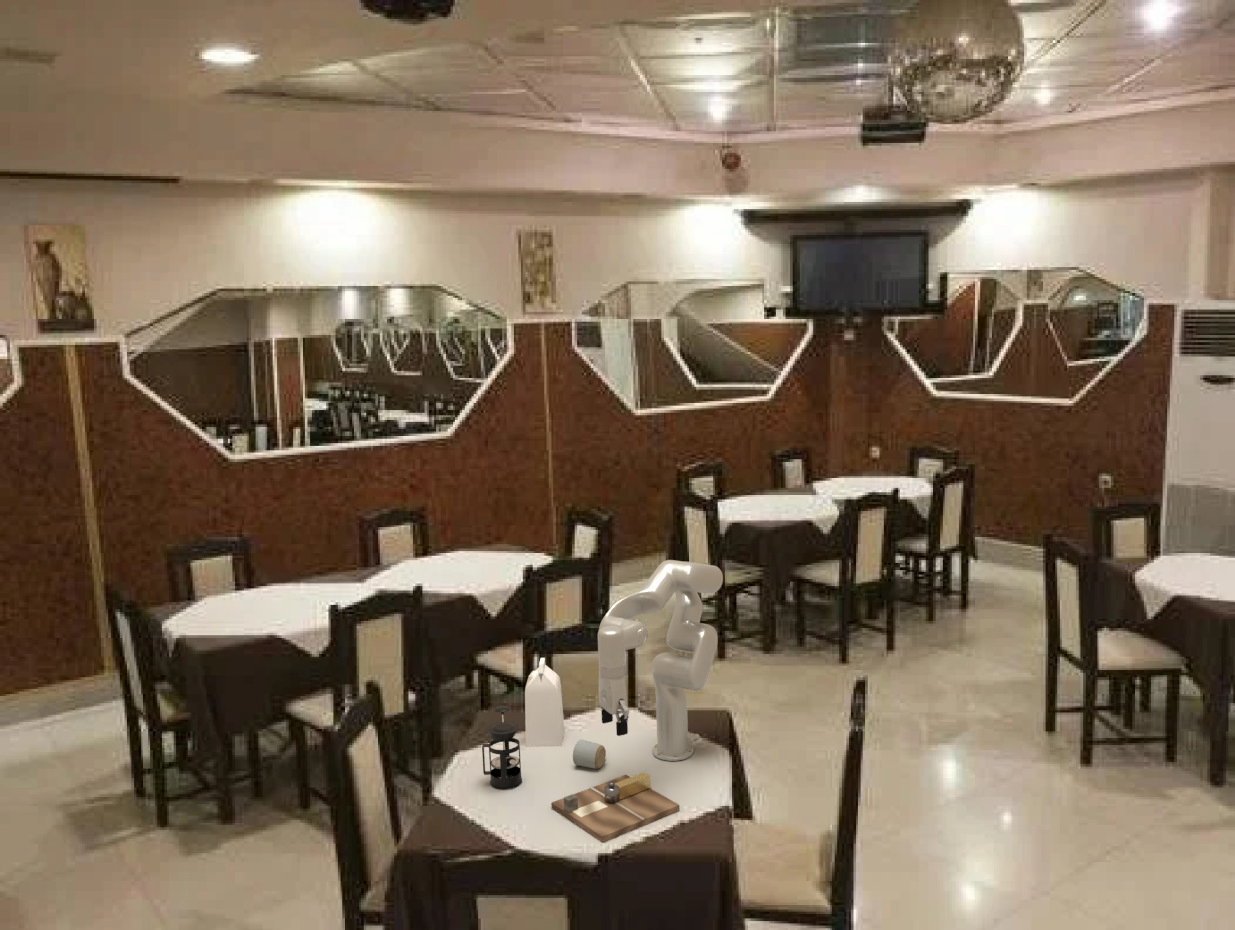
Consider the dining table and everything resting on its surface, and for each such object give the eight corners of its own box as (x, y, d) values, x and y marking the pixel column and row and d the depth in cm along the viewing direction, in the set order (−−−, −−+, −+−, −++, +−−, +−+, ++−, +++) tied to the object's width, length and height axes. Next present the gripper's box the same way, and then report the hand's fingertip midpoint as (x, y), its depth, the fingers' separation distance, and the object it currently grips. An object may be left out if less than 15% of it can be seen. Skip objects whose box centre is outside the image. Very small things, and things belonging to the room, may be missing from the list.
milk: (562, 745, 322) (558, 667, 318) (525, 746, 322) (521, 668, 318) (564, 730, 334) (561, 654, 330) (529, 731, 334) (525, 655, 330)
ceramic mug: (597, 773, 302) (596, 748, 301) (572, 769, 305) (571, 744, 304) (611, 759, 312) (611, 735, 311) (587, 755, 315) (586, 731, 314)
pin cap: (612, 784, 282) (612, 780, 282) (616, 786, 281) (616, 782, 281) (606, 786, 281) (606, 782, 281) (610, 788, 280) (610, 784, 280)
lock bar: (610, 804, 279) (610, 792, 278) (601, 799, 282) (601, 787, 282) (651, 788, 287) (651, 776, 287) (642, 783, 291) (642, 771, 290)
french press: (525, 774, 303) (522, 700, 299) (523, 789, 294) (519, 713, 290) (486, 775, 303) (482, 702, 299) (482, 790, 294) (478, 714, 290)
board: (626, 779, 297) (625, 763, 297) (679, 810, 278) (679, 792, 278) (551, 807, 282) (550, 790, 281) (602, 842, 263) (602, 823, 262)
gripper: (587, 663, 291) (590, 720, 294) (613, 683, 276) (615, 742, 278) (611, 658, 294) (613, 715, 297) (638, 677, 279) (640, 736, 282)
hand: (614, 728), depth 288 cm, fingers open, 9 cm apart
